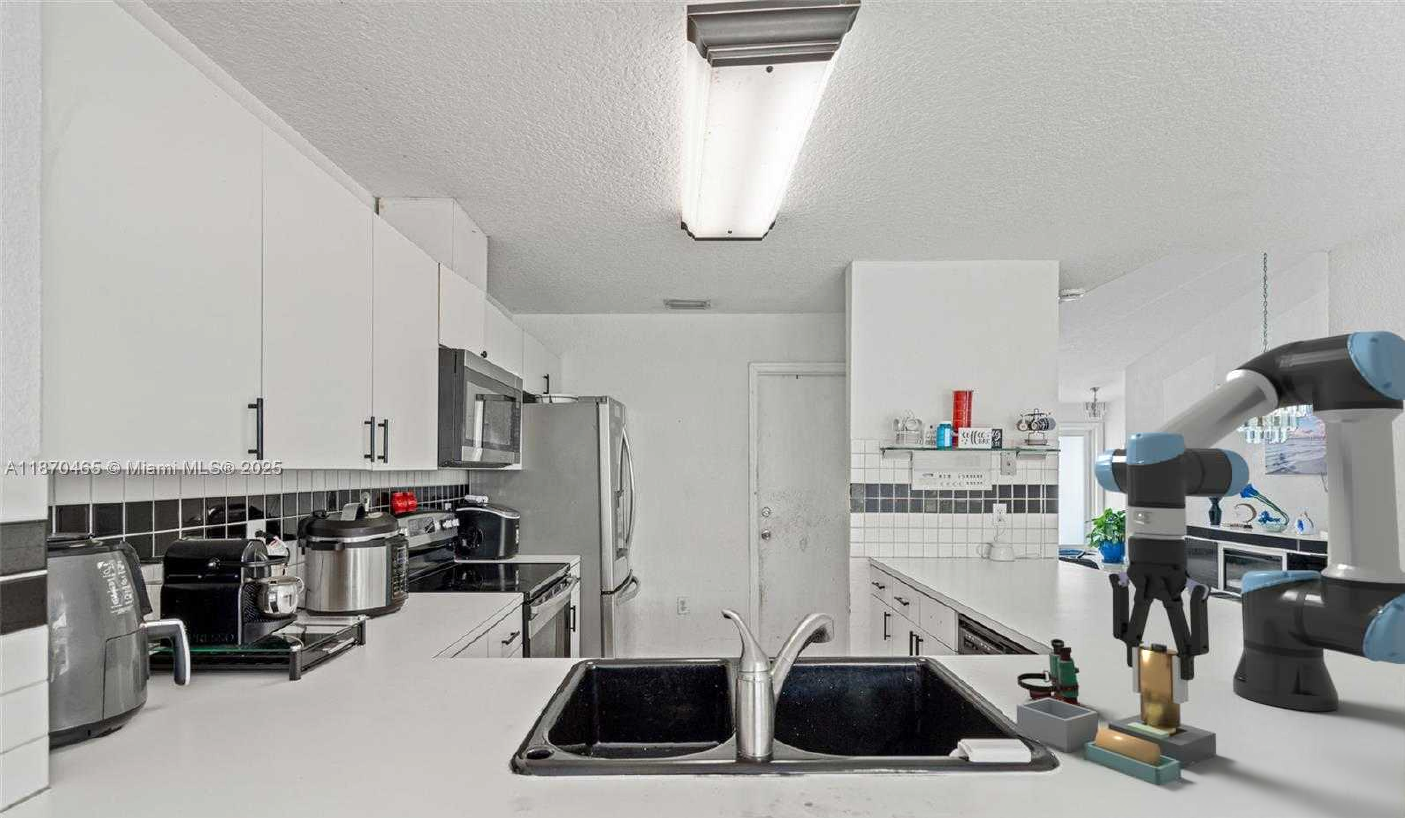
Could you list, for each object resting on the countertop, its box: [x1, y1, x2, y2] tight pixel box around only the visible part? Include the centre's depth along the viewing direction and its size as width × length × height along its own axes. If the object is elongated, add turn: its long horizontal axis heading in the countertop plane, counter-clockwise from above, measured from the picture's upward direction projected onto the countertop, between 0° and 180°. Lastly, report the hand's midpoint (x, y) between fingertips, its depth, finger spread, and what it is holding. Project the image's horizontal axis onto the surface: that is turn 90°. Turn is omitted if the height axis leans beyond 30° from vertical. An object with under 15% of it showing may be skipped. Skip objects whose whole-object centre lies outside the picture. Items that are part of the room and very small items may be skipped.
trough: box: [1083, 727, 1182, 786], centre depth 102 cm, size 6×10×4 cm, turn 32°
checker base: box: [1107, 713, 1217, 769], centre depth 109 cm, size 10×10×4 cm
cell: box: [1139, 643, 1182, 728], centre depth 110 cm, size 5×5×11 cm
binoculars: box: [1016, 638, 1081, 707], centre depth 130 cm, size 9×11×10 cm
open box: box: [1016, 698, 1099, 754], centre depth 112 cm, size 8×8×4 cm
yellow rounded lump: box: [1147, 723, 1176, 737], centre depth 109 cm, size 4×4×2 cm
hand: (1160, 695), depth 110 cm, fingers closed on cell, 5 cm apart
